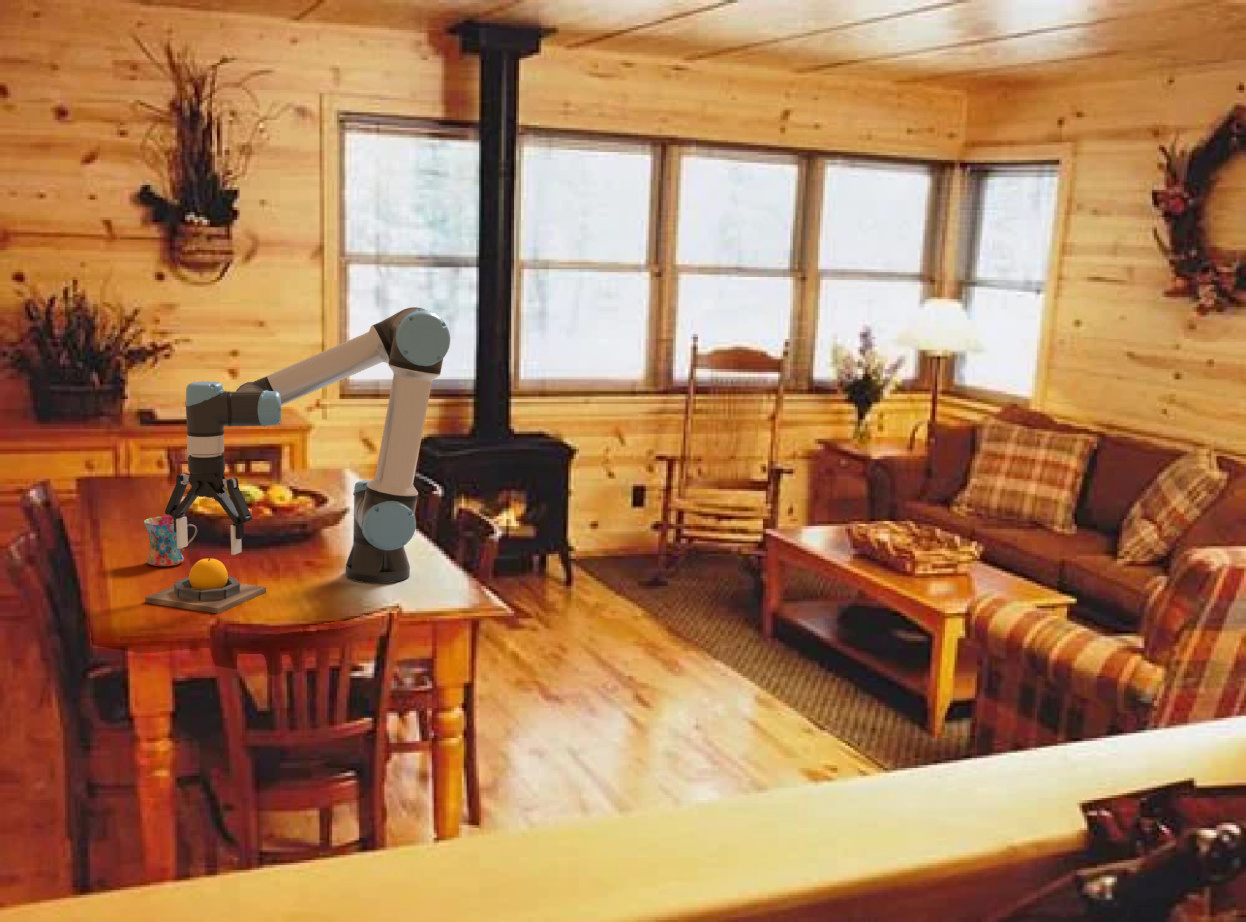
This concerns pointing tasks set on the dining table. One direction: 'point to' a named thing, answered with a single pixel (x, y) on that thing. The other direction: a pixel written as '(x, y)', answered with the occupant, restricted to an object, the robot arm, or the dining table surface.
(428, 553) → the dining table surface
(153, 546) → the mug
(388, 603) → the dining table surface
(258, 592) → the ring board
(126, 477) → the dining table surface
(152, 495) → the dining table surface
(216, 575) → the orange fruit
